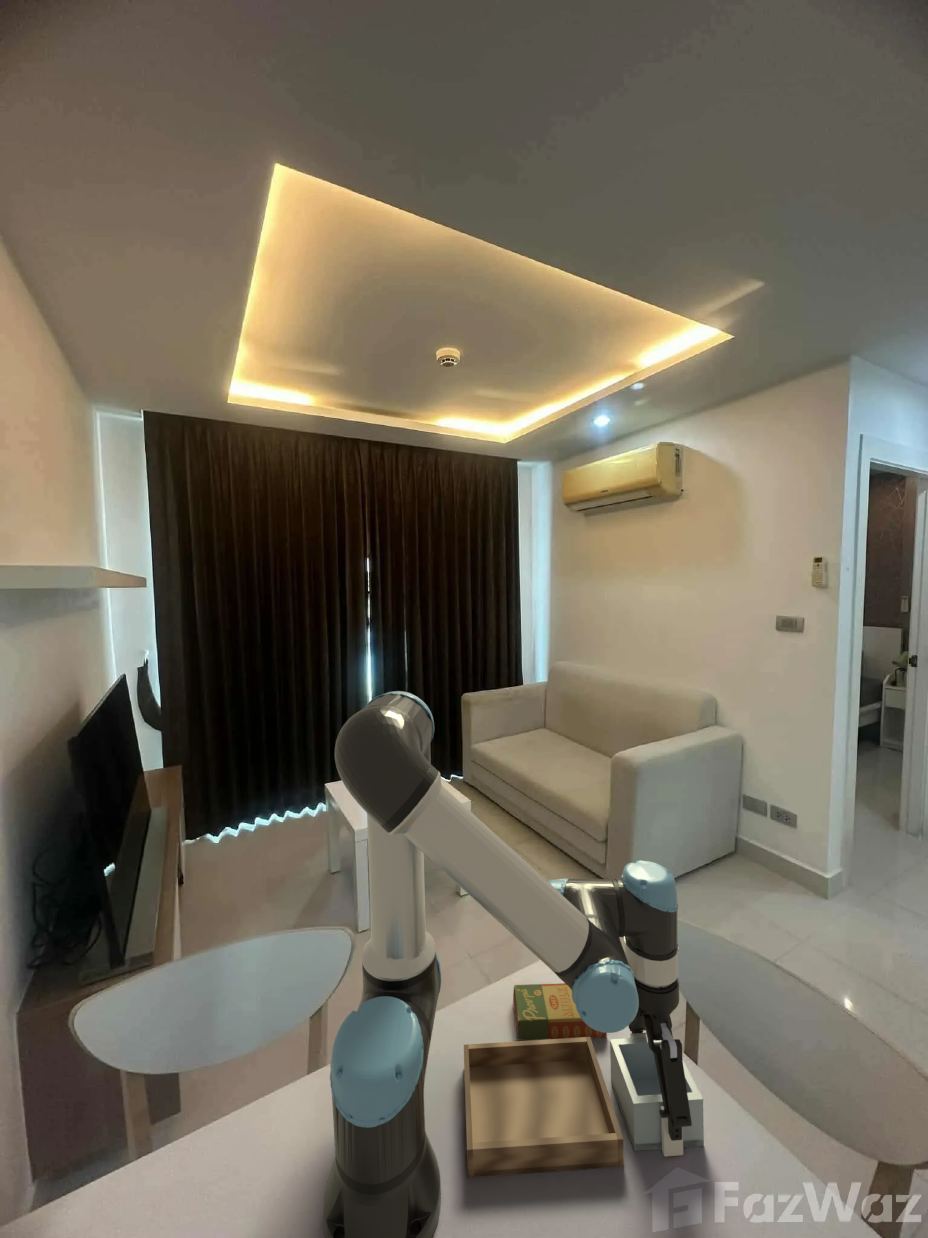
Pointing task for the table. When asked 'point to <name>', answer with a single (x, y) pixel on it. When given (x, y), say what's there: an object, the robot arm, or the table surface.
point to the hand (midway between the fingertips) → (655, 1110)
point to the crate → (538, 1108)
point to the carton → (549, 1013)
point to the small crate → (648, 1095)
